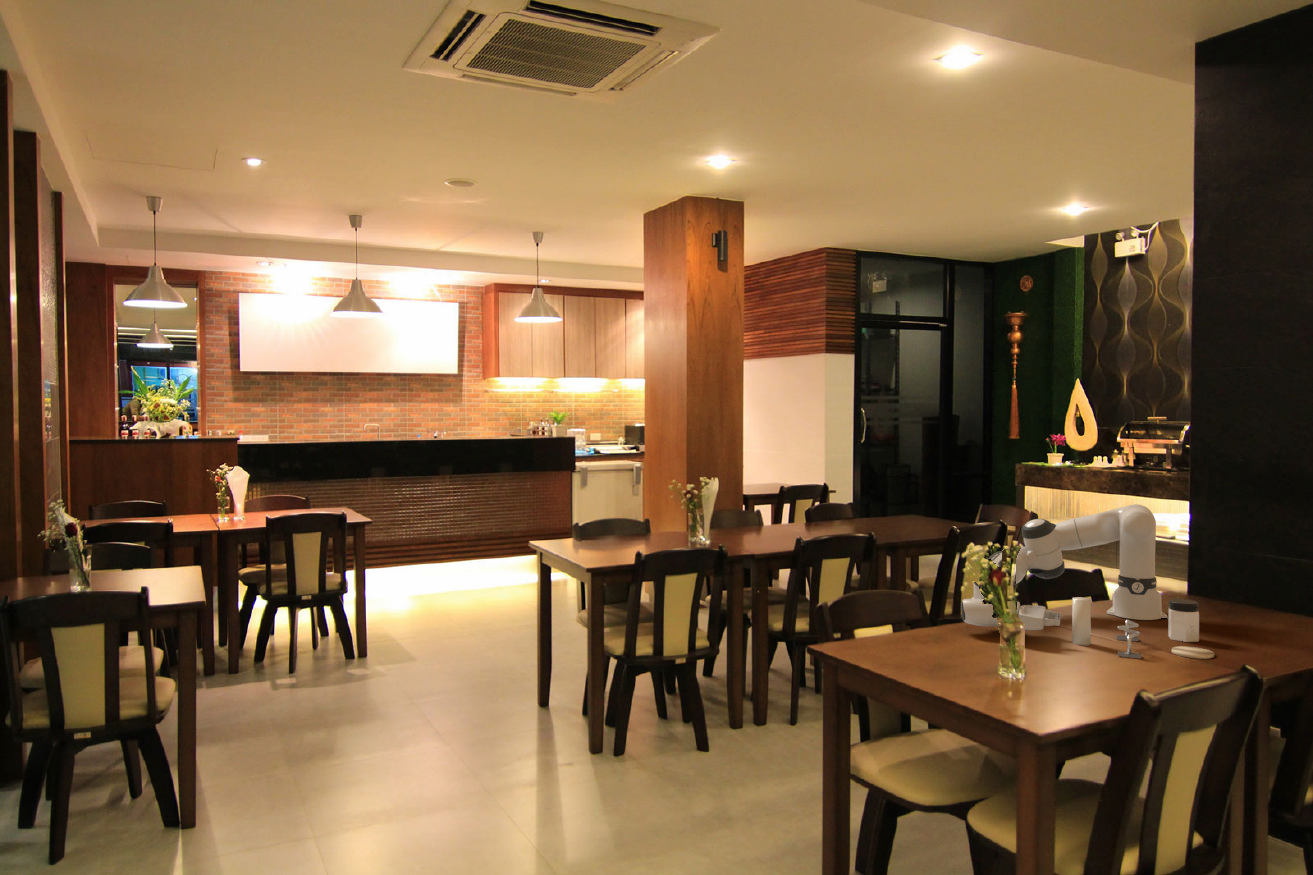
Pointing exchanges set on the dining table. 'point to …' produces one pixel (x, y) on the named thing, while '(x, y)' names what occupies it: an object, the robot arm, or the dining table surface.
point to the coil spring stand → (1129, 639)
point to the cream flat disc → (1192, 652)
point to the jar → (1183, 620)
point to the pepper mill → (1081, 621)
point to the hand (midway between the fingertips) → (1060, 619)
